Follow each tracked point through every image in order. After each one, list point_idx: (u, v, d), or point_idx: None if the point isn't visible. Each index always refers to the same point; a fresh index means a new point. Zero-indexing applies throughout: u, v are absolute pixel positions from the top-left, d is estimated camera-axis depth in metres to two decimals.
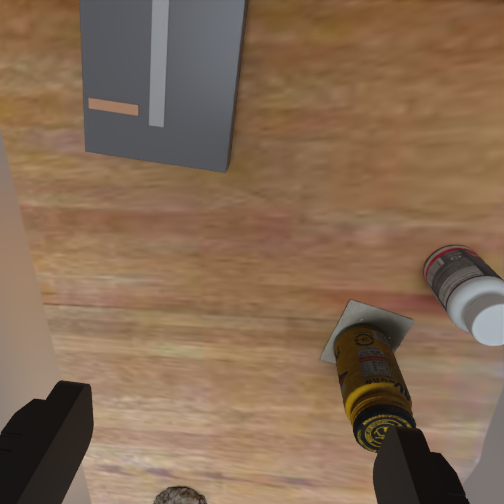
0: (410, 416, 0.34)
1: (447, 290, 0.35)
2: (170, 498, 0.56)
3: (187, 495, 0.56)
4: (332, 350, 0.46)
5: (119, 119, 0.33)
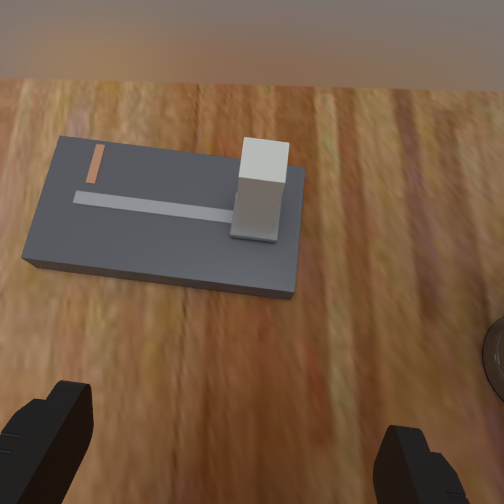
0: None
1: None
2: None
3: None
4: None
5: (84, 167, 0.37)
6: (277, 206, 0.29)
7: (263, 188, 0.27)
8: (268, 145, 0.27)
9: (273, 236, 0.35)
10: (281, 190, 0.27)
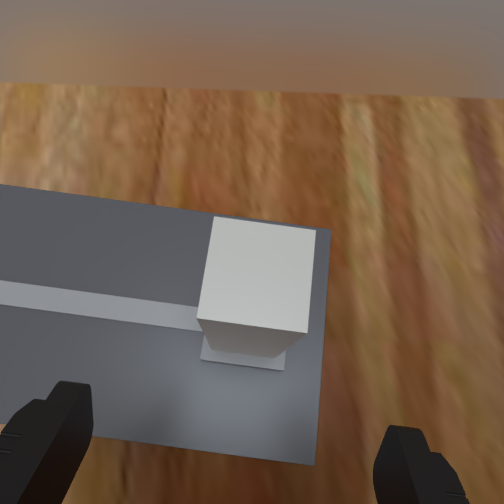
0: None
1: None
2: None
3: None
4: None
5: None
6: (286, 346, 0.14)
7: (257, 332, 0.12)
8: (268, 236, 0.12)
9: (277, 363, 0.19)
10: (297, 337, 0.12)
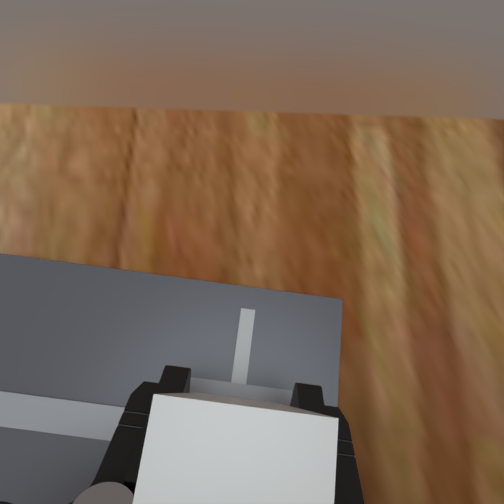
0: None
1: None
2: None
3: None
4: None
5: None
6: None
7: None
8: (252, 434, 0.06)
9: None
10: None
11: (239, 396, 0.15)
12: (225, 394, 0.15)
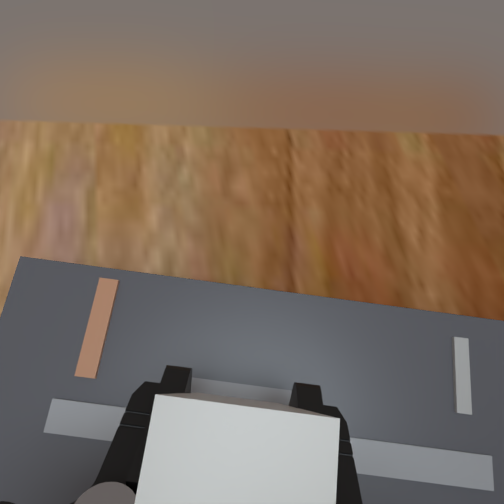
0: None
1: None
2: None
3: None
4: None
5: (72, 334, 0.17)
6: None
7: None
8: (254, 435, 0.06)
9: None
10: None
11: (240, 396, 0.15)
12: (226, 394, 0.15)
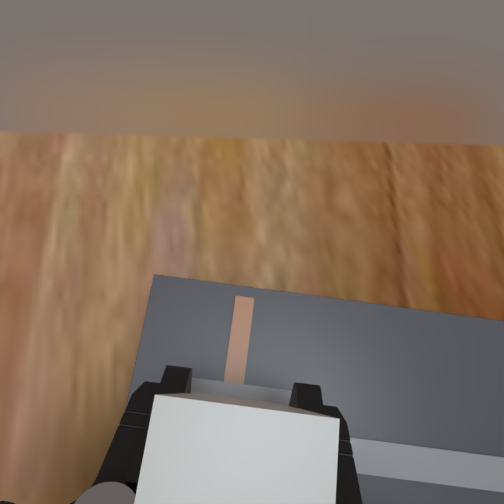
0: None
1: None
2: None
3: None
4: None
5: (213, 353, 0.17)
6: None
7: None
8: (253, 435, 0.06)
9: None
10: None
11: (239, 396, 0.15)
12: (225, 394, 0.15)
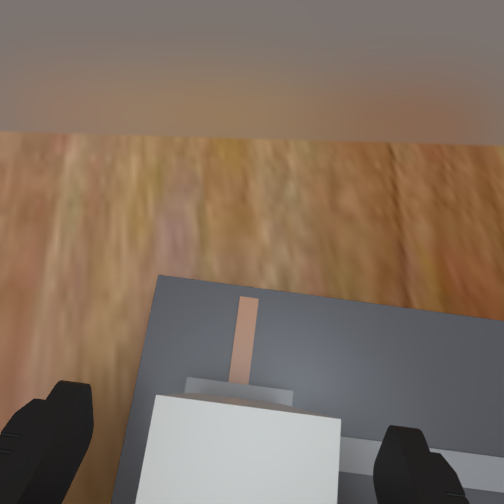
0: None
1: None
2: None
3: None
4: None
5: (217, 354, 0.17)
6: None
7: None
8: (255, 435, 0.06)
9: None
10: None
11: (240, 396, 0.15)
12: (226, 394, 0.15)
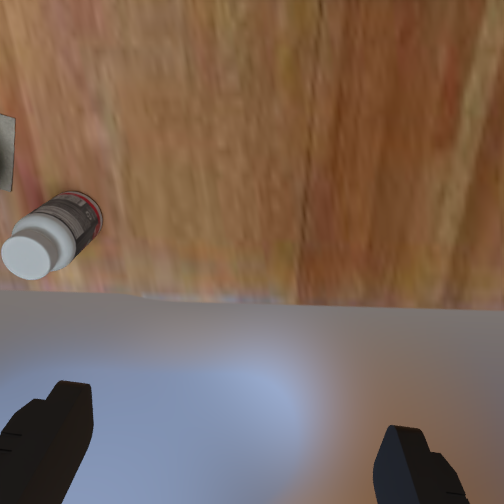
0: None
1: (51, 211, 0.35)
2: None
3: None
4: None
5: None
6: None
7: None
8: None
9: None
10: None
11: None
12: None
